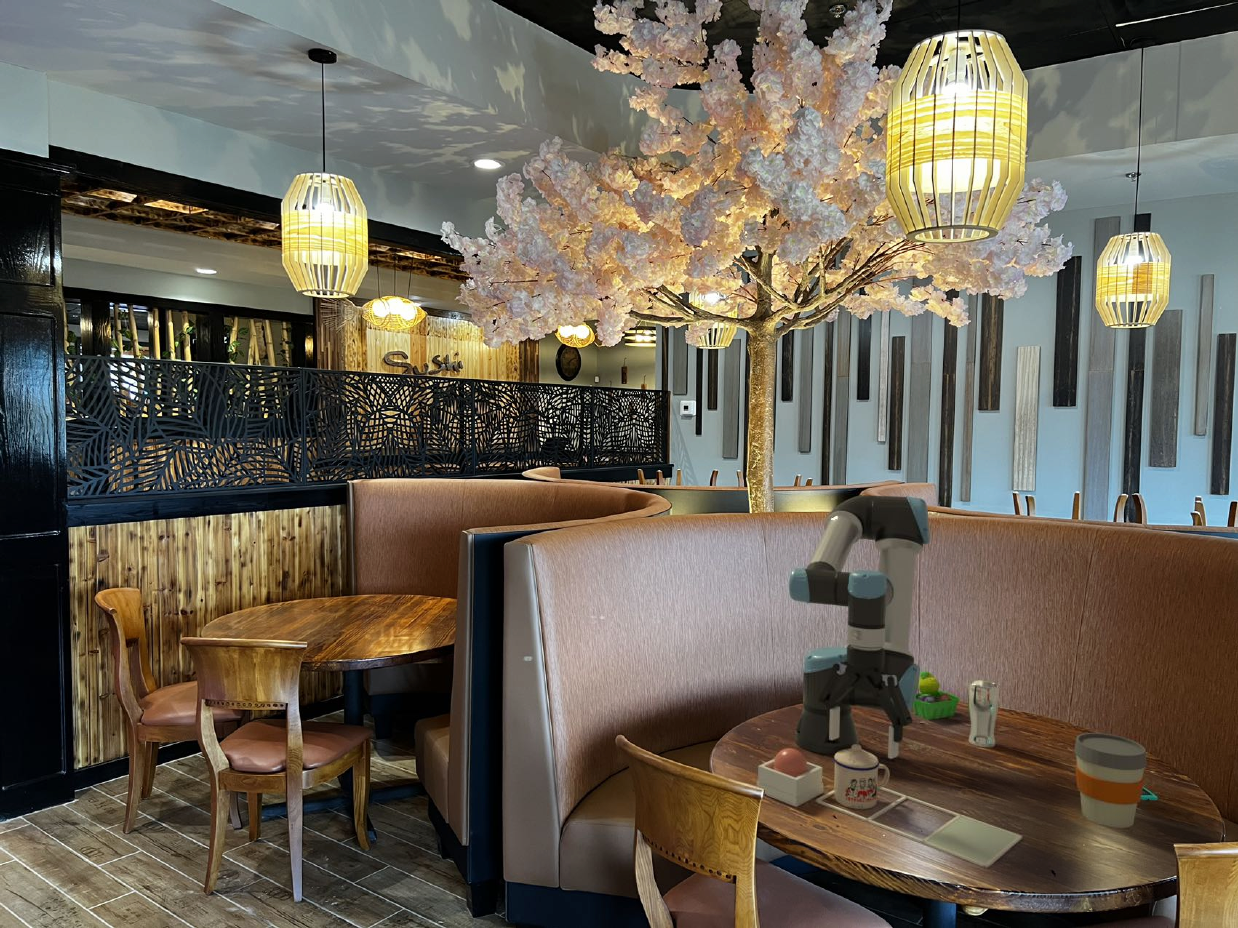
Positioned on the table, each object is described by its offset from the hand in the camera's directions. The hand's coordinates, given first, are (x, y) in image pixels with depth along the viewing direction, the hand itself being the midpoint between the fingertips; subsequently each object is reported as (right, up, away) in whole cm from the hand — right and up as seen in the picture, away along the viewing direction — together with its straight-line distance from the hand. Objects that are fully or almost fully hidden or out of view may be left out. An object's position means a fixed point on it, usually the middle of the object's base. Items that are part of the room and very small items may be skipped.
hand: (862, 747), depth 174 cm
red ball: (-14, -9, +4) cm, 17 cm away
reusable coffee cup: (+48, -12, -5) cm, 50 cm away
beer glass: (+39, -11, +34) cm, 53 cm away
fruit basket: (+35, -10, +54) cm, 65 cm away
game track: (+8, -12, -7) cm, 16 cm away
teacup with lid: (0, -12, +1) cm, 12 cm away
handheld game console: (+59, -12, +11) cm, 61 cm away
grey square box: (-14, -11, +4) cm, 19 cm away
